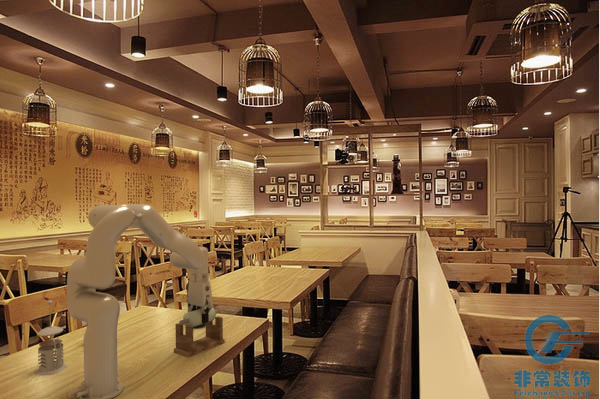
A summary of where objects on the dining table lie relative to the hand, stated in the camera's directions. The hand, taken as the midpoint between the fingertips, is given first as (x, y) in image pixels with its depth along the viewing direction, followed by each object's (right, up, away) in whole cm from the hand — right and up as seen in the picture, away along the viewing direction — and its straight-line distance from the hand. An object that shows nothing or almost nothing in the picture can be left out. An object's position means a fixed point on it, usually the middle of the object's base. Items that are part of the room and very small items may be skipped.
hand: (199, 320), depth 169 cm
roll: (0, +2, 0) cm, 2 cm away
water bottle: (-8, -11, +28) cm, 31 cm away
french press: (-48, -12, -20) cm, 54 cm away
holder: (0, -11, 0) cm, 11 cm away
